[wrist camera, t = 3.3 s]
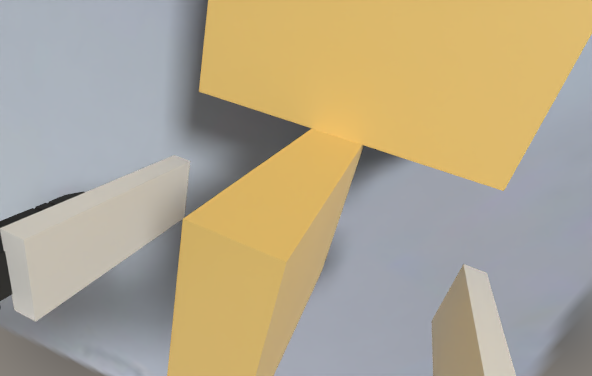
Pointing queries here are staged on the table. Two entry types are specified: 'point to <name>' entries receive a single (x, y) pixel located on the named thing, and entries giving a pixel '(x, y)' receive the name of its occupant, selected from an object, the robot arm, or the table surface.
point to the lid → (349, 140)
